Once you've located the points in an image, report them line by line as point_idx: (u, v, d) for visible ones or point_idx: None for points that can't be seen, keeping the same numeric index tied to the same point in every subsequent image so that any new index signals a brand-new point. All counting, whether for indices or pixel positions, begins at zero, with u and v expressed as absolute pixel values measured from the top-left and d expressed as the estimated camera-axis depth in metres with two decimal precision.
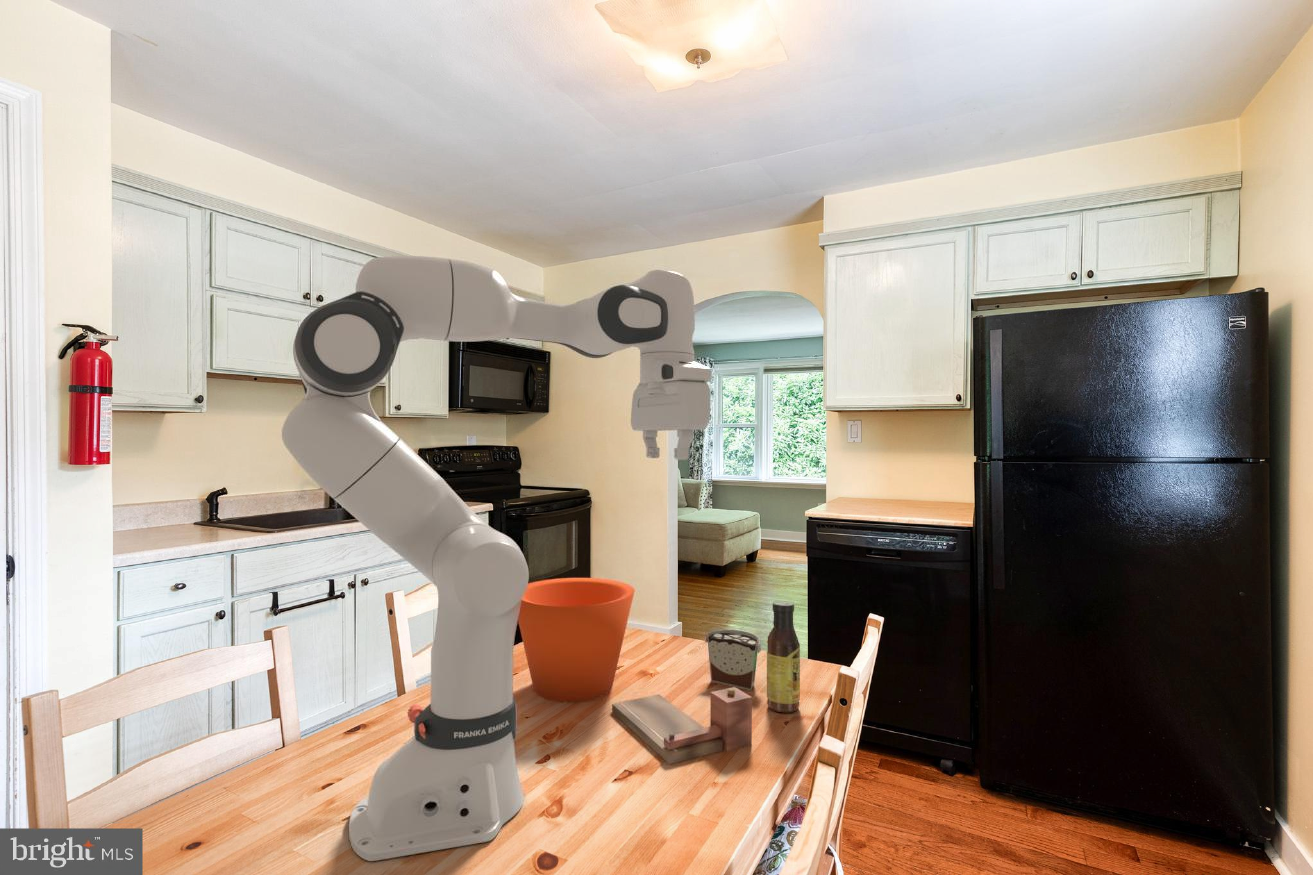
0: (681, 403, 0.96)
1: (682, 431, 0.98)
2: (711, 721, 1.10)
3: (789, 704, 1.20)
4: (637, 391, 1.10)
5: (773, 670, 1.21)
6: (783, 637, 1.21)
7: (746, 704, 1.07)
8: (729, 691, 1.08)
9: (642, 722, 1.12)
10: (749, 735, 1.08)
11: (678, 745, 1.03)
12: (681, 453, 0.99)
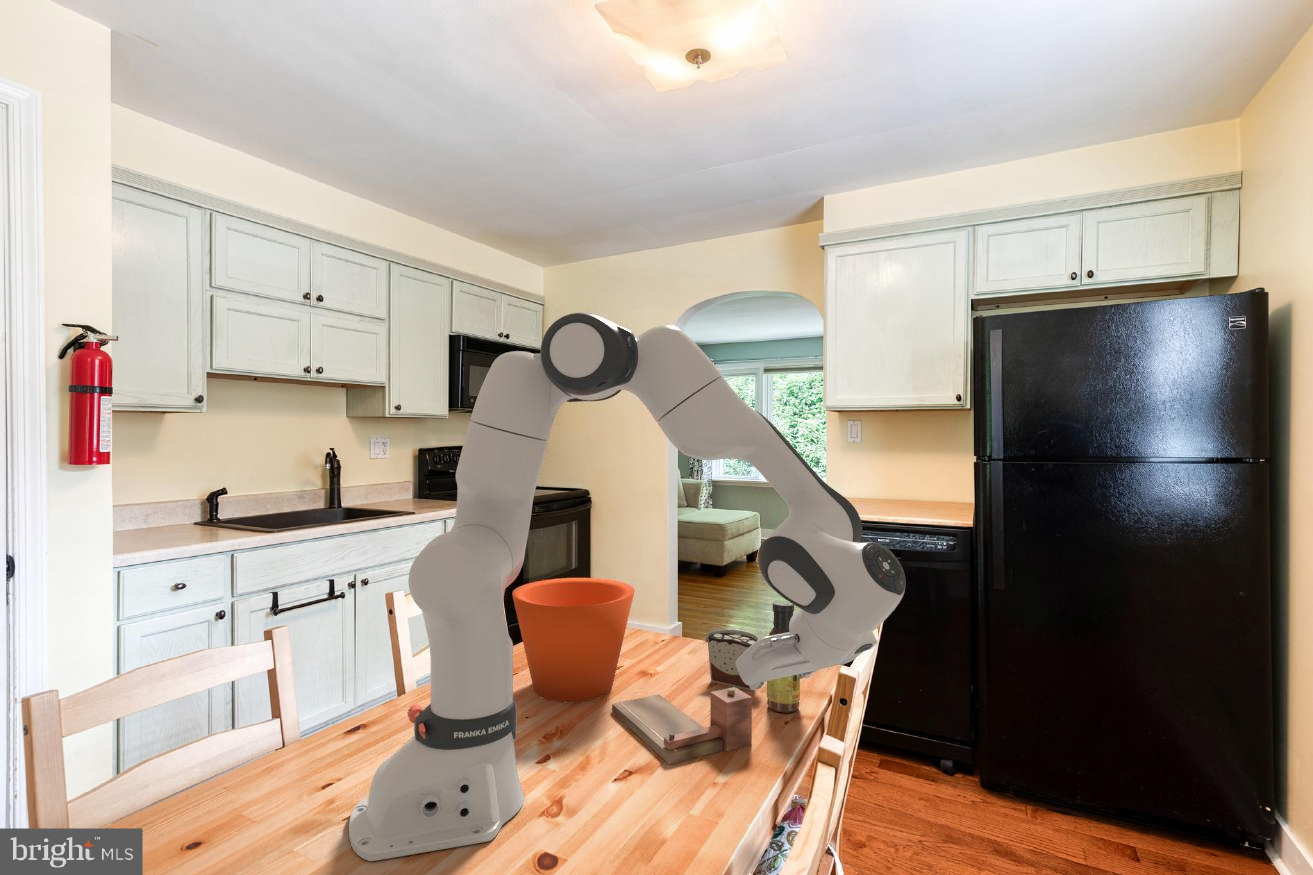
0: None
1: None
2: (711, 721, 1.10)
3: (789, 704, 1.20)
4: (779, 660, 0.87)
5: None
6: None
7: (746, 704, 1.07)
8: (729, 691, 1.08)
9: (642, 722, 1.12)
10: (749, 735, 1.08)
11: (678, 745, 1.03)
12: None
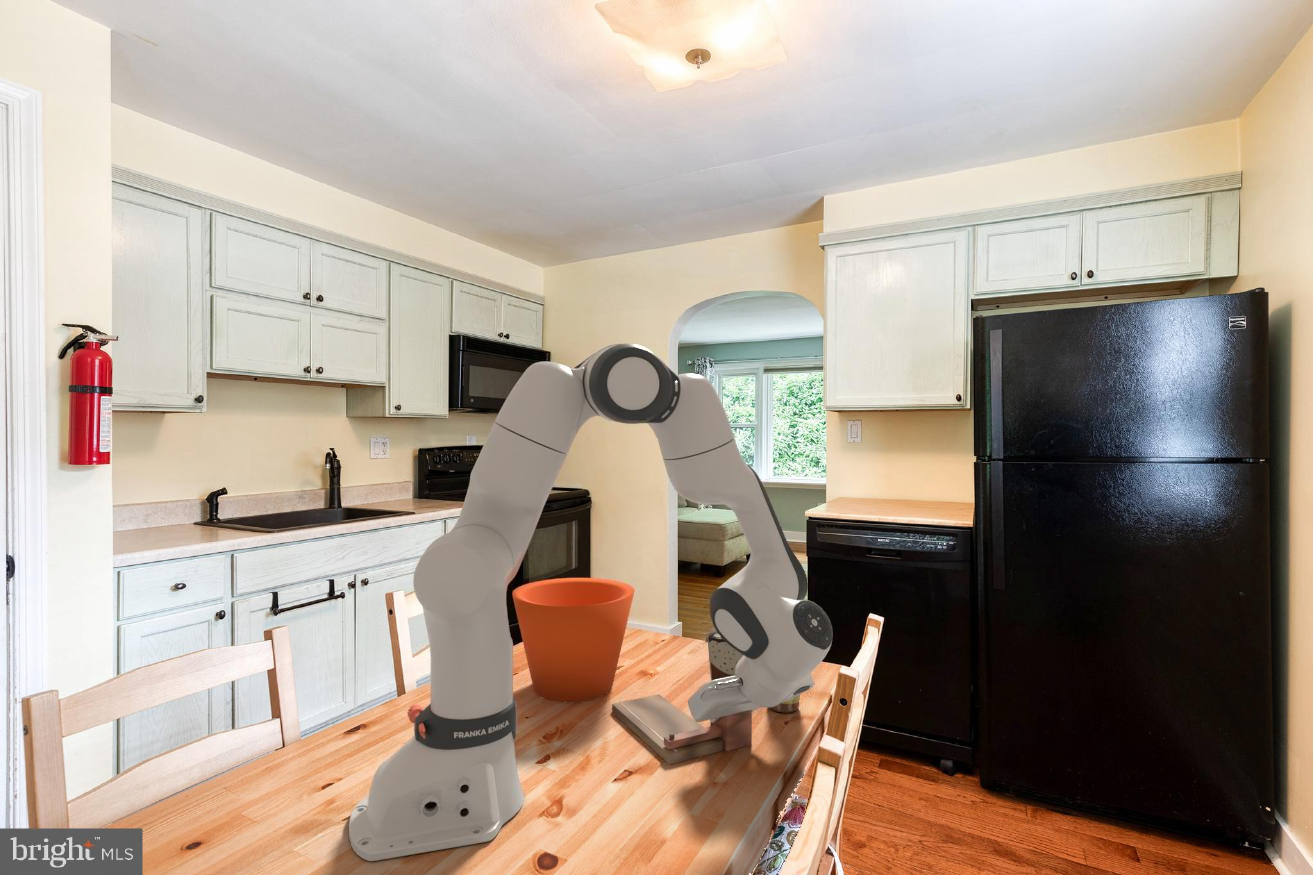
0: None
1: None
2: None
3: (789, 704, 1.20)
4: (724, 702, 0.98)
5: None
6: None
7: None
8: None
9: (642, 722, 1.12)
10: (749, 735, 1.08)
11: (678, 745, 1.03)
12: None
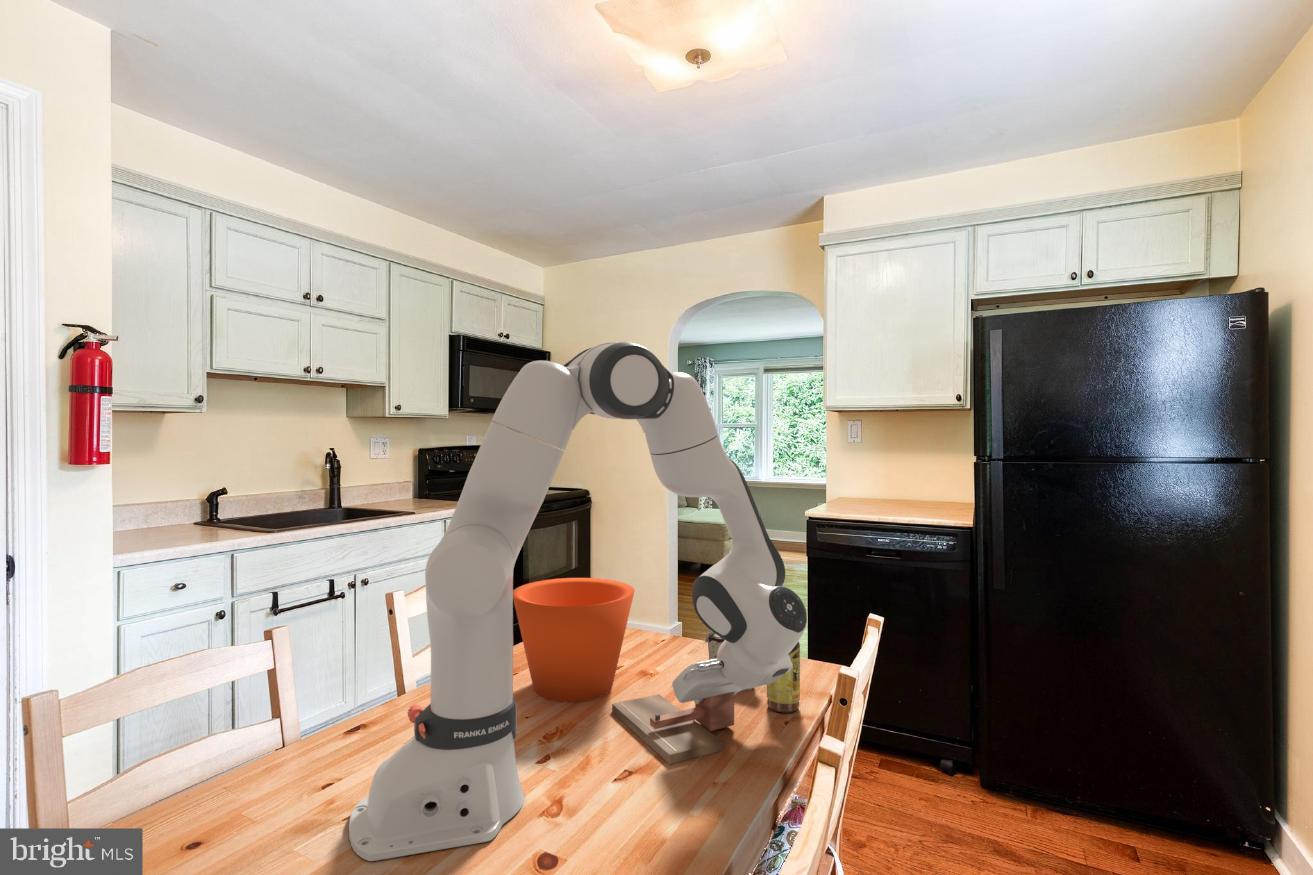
0: None
1: None
2: None
3: (789, 704, 1.20)
4: (706, 683, 1.04)
5: None
6: None
7: None
8: None
9: (642, 722, 1.12)
10: (732, 716, 1.13)
11: (663, 725, 1.09)
12: None
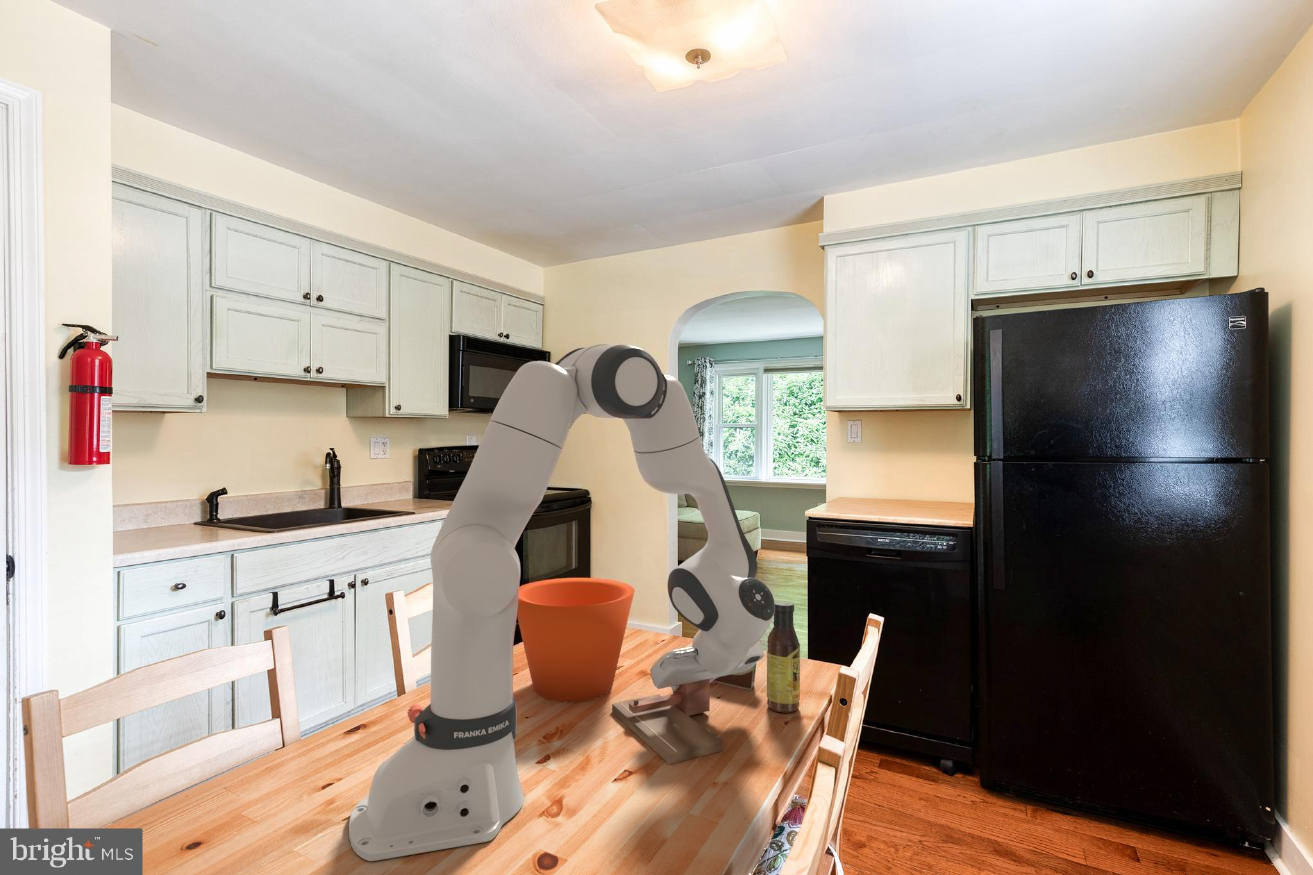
0: (746, 663, 1.18)
1: None
2: None
3: (789, 704, 1.20)
4: (681, 669, 1.10)
5: (773, 670, 1.21)
6: (783, 637, 1.21)
7: None
8: None
9: (642, 722, 1.12)
10: (707, 702, 1.19)
11: (642, 710, 1.15)
12: None
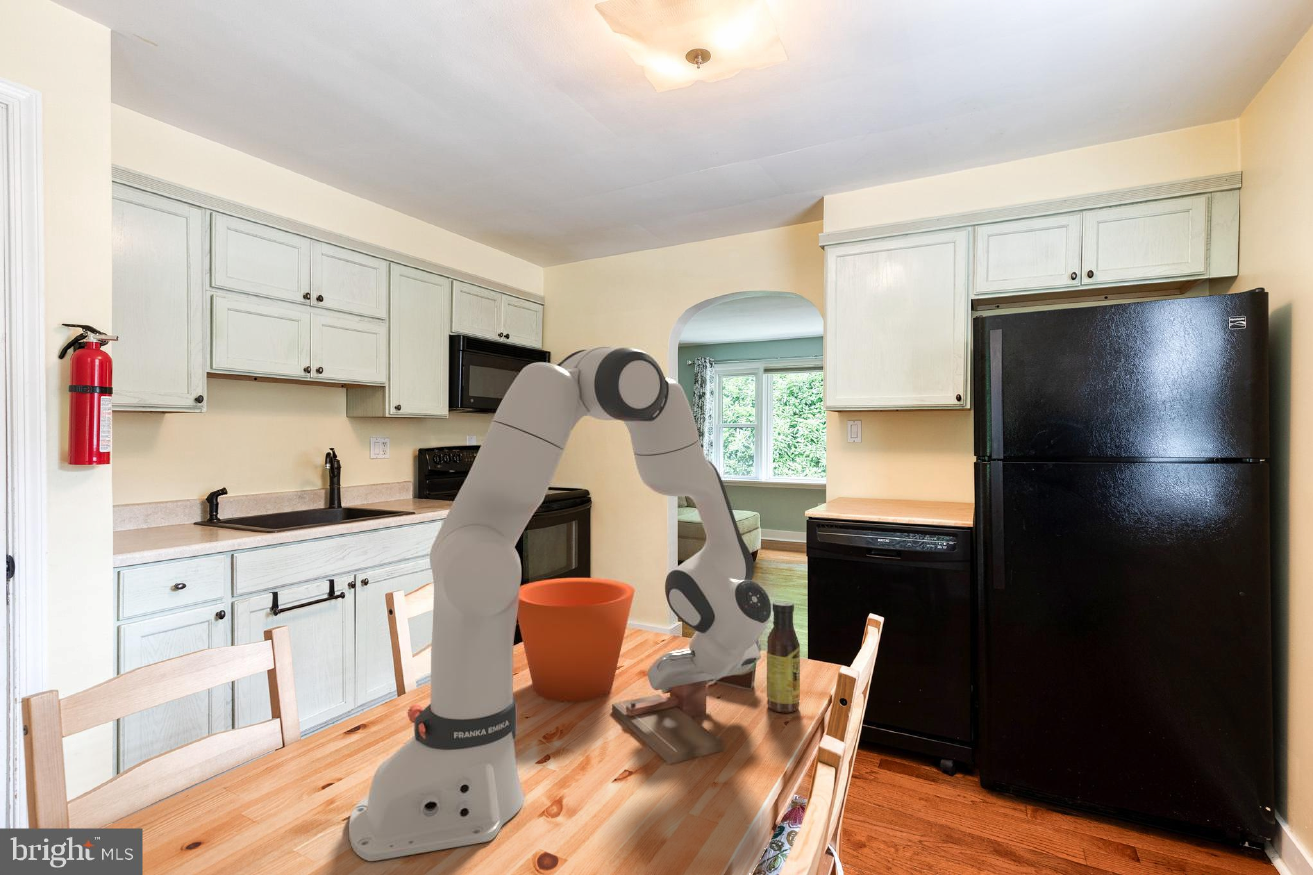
0: None
1: None
2: (670, 692, 1.22)
3: (789, 704, 1.20)
4: (678, 671, 1.10)
5: (773, 670, 1.21)
6: (783, 637, 1.21)
7: None
8: None
9: (642, 722, 1.12)
10: (704, 704, 1.20)
11: (639, 712, 1.15)
12: None
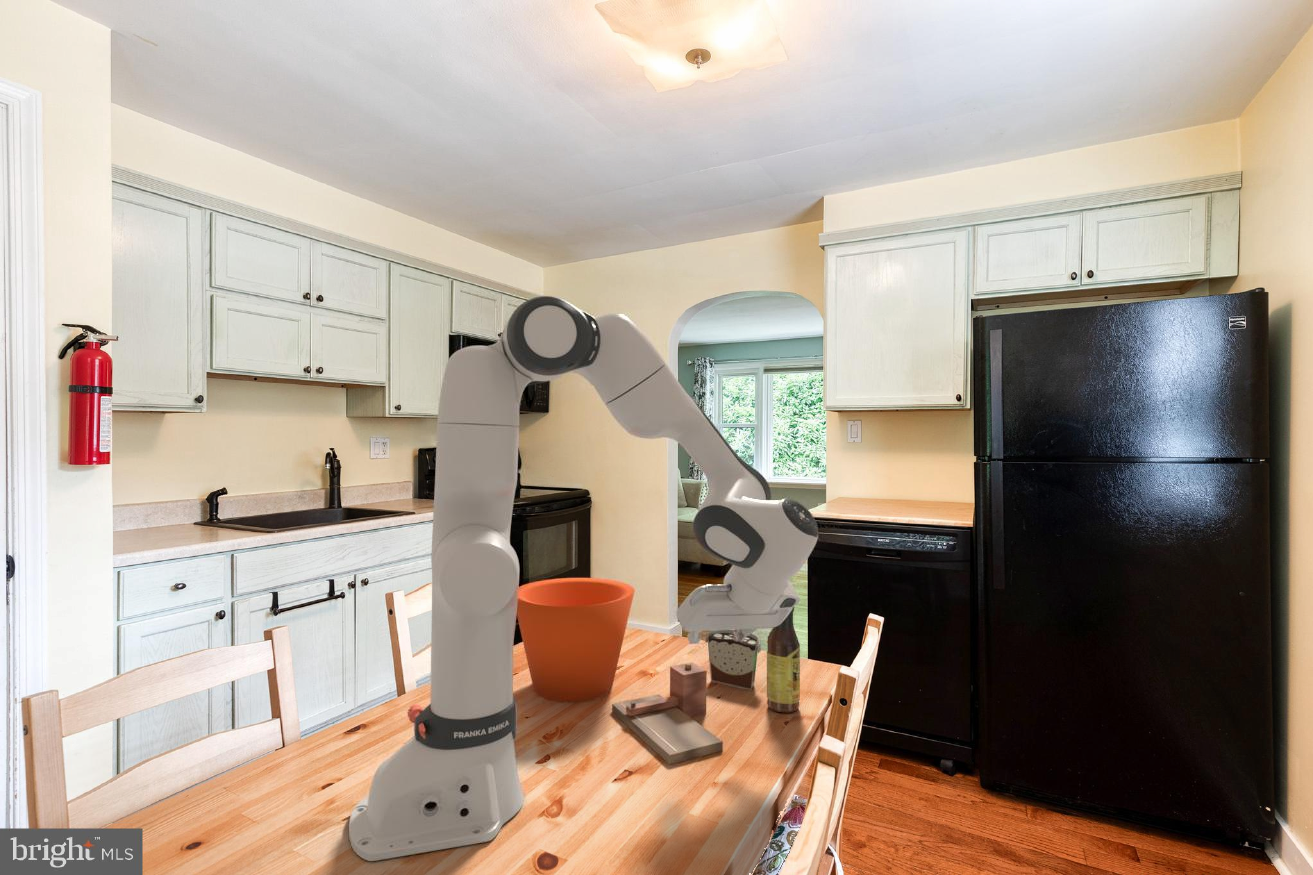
0: (778, 614, 1.09)
1: None
2: (670, 692, 1.22)
3: (789, 704, 1.20)
4: (713, 605, 1.00)
5: (773, 670, 1.21)
6: (783, 637, 1.21)
7: (701, 676, 1.20)
8: (686, 665, 1.21)
9: (642, 722, 1.12)
10: (704, 704, 1.20)
11: (639, 712, 1.15)
12: None
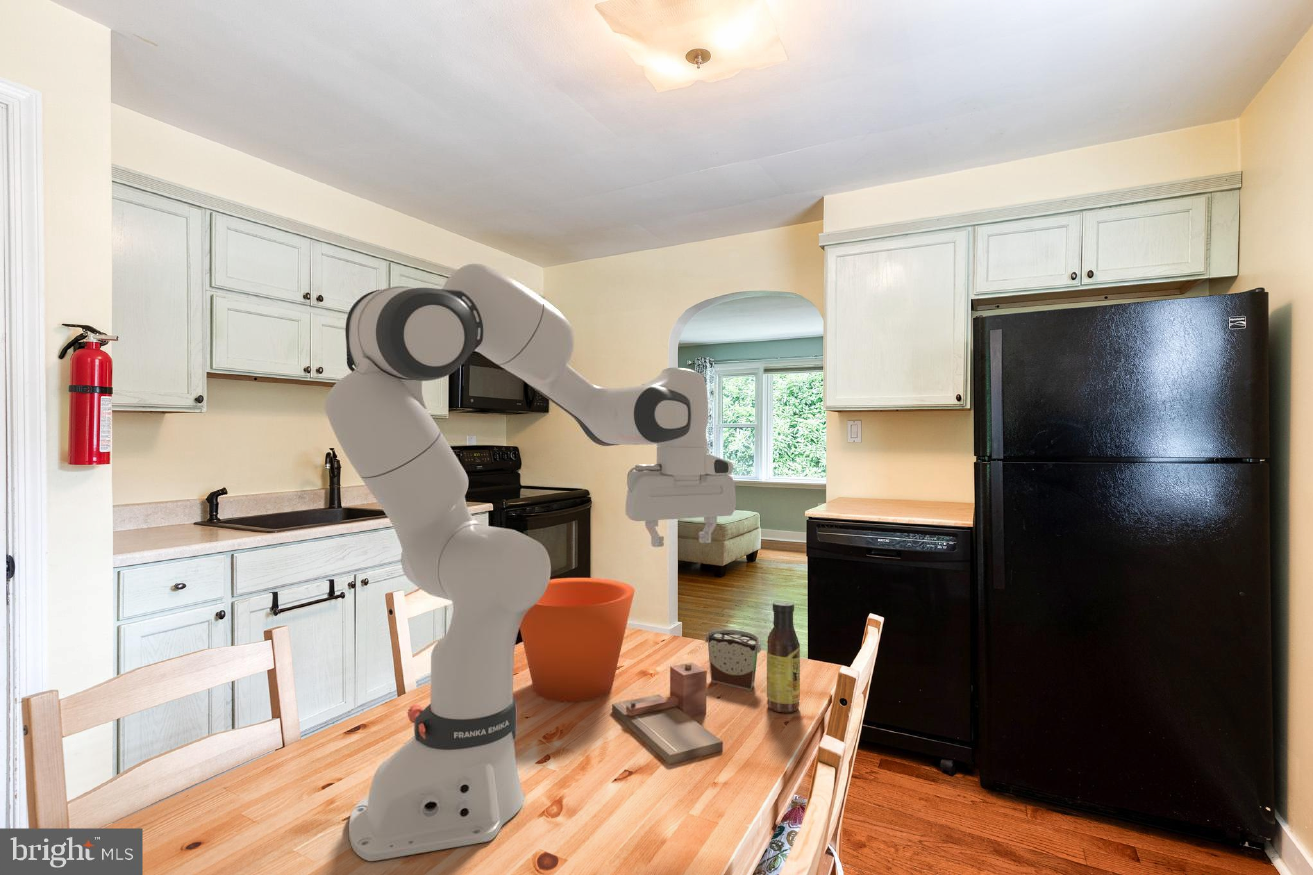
0: (725, 493, 1.12)
1: (716, 517, 1.12)
2: (670, 692, 1.22)
3: (789, 704, 1.20)
4: (649, 480, 1.05)
5: (773, 670, 1.21)
6: (783, 637, 1.21)
7: (701, 676, 1.20)
8: (686, 665, 1.21)
9: (642, 722, 1.12)
10: (704, 704, 1.20)
11: (639, 712, 1.15)
12: None
